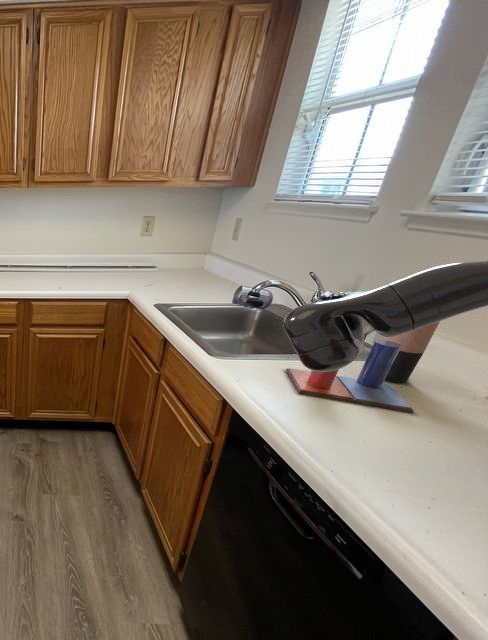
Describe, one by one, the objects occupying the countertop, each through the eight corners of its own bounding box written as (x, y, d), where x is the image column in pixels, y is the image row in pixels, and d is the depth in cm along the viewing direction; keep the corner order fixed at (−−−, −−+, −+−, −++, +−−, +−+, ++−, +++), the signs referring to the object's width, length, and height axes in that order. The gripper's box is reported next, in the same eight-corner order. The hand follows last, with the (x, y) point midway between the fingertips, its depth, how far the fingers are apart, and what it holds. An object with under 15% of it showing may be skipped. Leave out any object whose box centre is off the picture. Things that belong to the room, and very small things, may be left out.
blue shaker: (376, 381, 105) (396, 341, 101) (384, 390, 101) (405, 348, 97) (353, 378, 107) (372, 338, 102) (360, 386, 103) (380, 345, 98)
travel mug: (378, 381, 108) (415, 307, 99) (364, 369, 115) (398, 298, 106) (414, 386, 106) (455, 311, 97) (398, 373, 113) (435, 302, 104)
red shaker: (327, 382, 104) (344, 342, 99) (333, 391, 100) (352, 349, 95) (304, 379, 106) (321, 338, 101) (309, 387, 102) (327, 345, 97)
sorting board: (385, 386, 106) (387, 382, 105) (412, 413, 94) (414, 409, 93) (285, 370, 113) (287, 367, 112) (298, 393, 101) (300, 389, 101)
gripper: (417, 306, 65) (436, 290, 74) (312, 286, 75) (340, 275, 84) (395, 350, 68) (416, 330, 77) (297, 325, 78) (325, 310, 87)
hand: (376, 301), depth 81 cm, fingers open, 8 cm apart
